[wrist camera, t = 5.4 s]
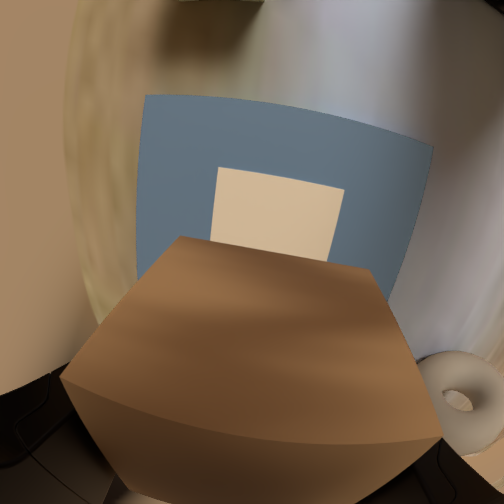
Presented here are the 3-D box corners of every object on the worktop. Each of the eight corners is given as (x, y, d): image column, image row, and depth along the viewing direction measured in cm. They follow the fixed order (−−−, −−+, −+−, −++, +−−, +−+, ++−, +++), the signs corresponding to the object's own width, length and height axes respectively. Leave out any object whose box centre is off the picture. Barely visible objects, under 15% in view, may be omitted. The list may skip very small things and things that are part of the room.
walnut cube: (369, 269, 7) (443, 435, 2) (317, 391, 9) (321, 521, 4) (180, 235, 7) (59, 376, 3) (178, 367, 9) (129, 489, 5)
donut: (485, 335, 18) (534, 414, 8) (471, 363, 19) (510, 441, 10) (392, 348, 19) (430, 459, 10) (381, 377, 20) (407, 481, 11)
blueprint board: (427, 146, 13) (434, 147, 12) (362, 343, 19) (364, 351, 18) (151, 96, 14) (144, 94, 13) (144, 304, 19) (139, 311, 18)
